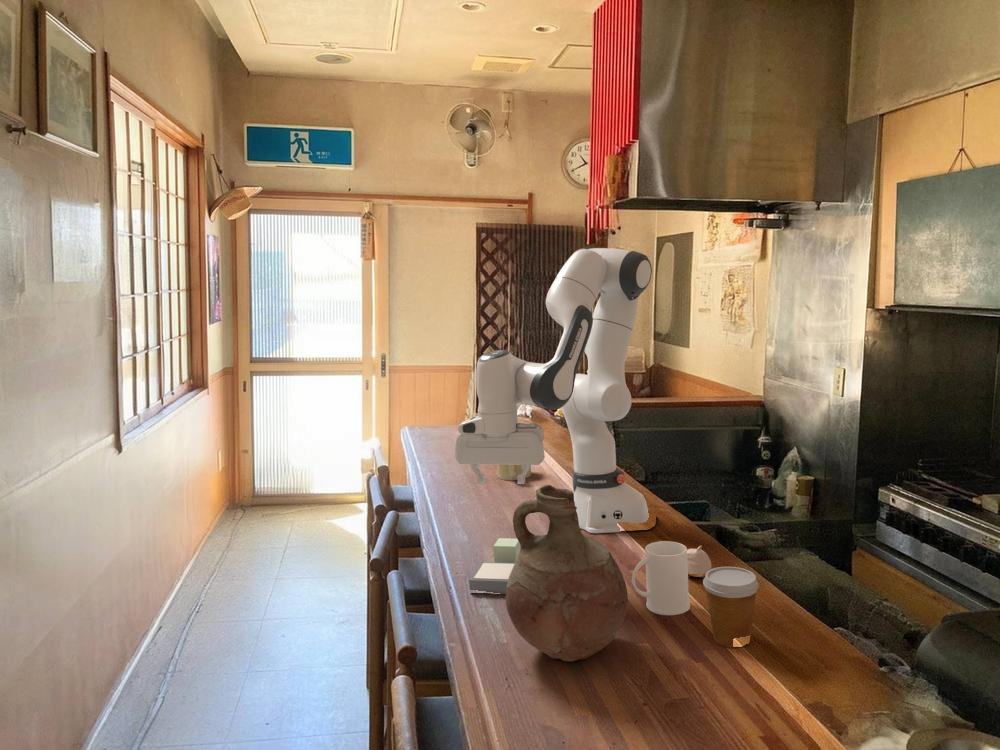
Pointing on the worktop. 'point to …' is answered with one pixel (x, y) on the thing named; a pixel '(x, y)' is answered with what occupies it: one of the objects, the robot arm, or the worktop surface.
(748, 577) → the disposable coffee cup
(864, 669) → the worktop surface
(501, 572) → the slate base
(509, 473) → the sugar bowl
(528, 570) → the jug
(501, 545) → the green block
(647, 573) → the mug
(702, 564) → the garlic bulb
